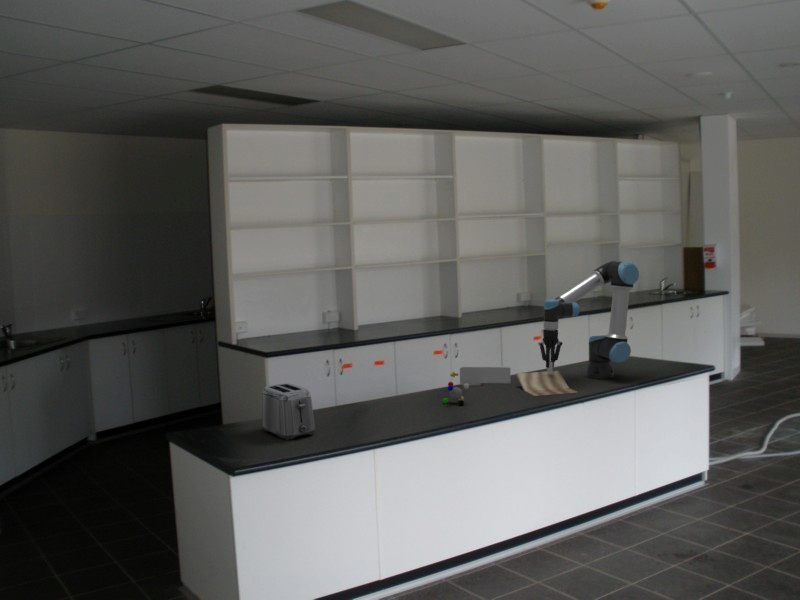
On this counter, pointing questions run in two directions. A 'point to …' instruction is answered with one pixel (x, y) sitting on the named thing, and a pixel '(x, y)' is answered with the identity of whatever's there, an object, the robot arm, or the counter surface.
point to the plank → (541, 381)
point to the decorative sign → (483, 374)
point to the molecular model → (456, 393)
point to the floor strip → (552, 392)
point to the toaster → (287, 411)
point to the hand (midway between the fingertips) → (549, 373)
